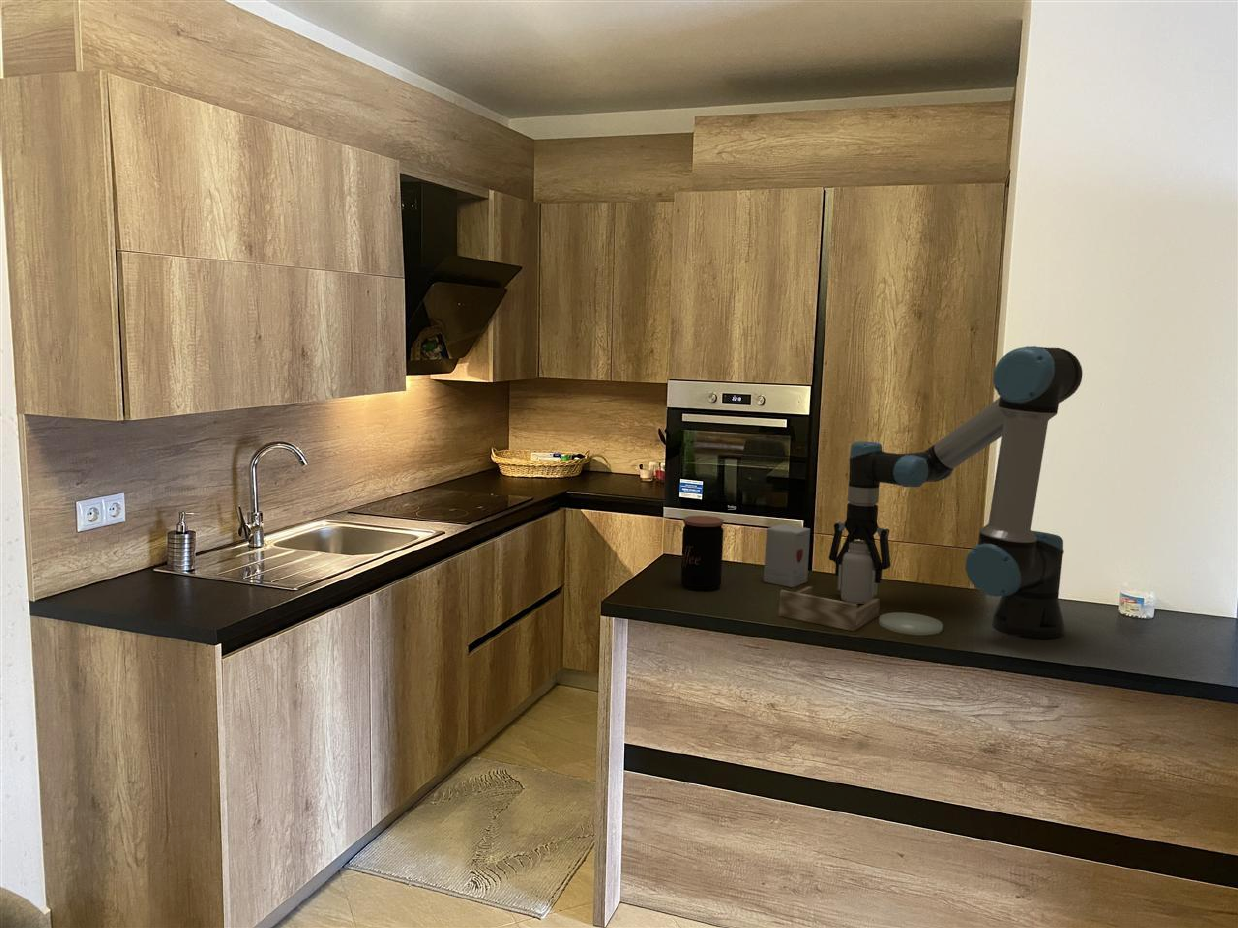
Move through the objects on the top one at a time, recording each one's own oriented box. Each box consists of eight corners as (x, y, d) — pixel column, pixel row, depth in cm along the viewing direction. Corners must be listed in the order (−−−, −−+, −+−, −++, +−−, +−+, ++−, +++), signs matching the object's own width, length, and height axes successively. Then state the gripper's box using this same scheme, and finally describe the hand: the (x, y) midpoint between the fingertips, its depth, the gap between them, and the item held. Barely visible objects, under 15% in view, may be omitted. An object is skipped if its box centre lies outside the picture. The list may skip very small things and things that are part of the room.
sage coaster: (950, 625, 214) (950, 620, 214) (931, 639, 203) (932, 634, 203) (891, 613, 222) (891, 608, 222) (870, 626, 211) (870, 621, 211)
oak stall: (878, 615, 220) (880, 591, 219) (853, 631, 207) (855, 605, 206) (807, 601, 231) (808, 578, 230) (778, 615, 218) (780, 590, 217)
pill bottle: (845, 594, 239) (849, 537, 237) (876, 599, 234) (880, 542, 233) (836, 601, 232) (839, 542, 230) (867, 606, 228) (871, 547, 226)
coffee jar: (674, 582, 246) (677, 516, 244) (711, 580, 249) (714, 515, 247) (689, 592, 236) (692, 523, 233) (727, 590, 239) (730, 522, 237)
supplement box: (793, 588, 244) (796, 532, 242) (763, 582, 249) (765, 527, 247) (808, 581, 251) (811, 527, 249) (778, 576, 256) (781, 523, 254)
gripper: (908, 506, 227) (902, 596, 230) (829, 496, 239) (824, 582, 242) (898, 510, 221) (892, 602, 224) (817, 500, 233) (812, 587, 236)
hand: (857, 591), depth 233 cm, fingers closed on pill bottle, 8 cm apart
